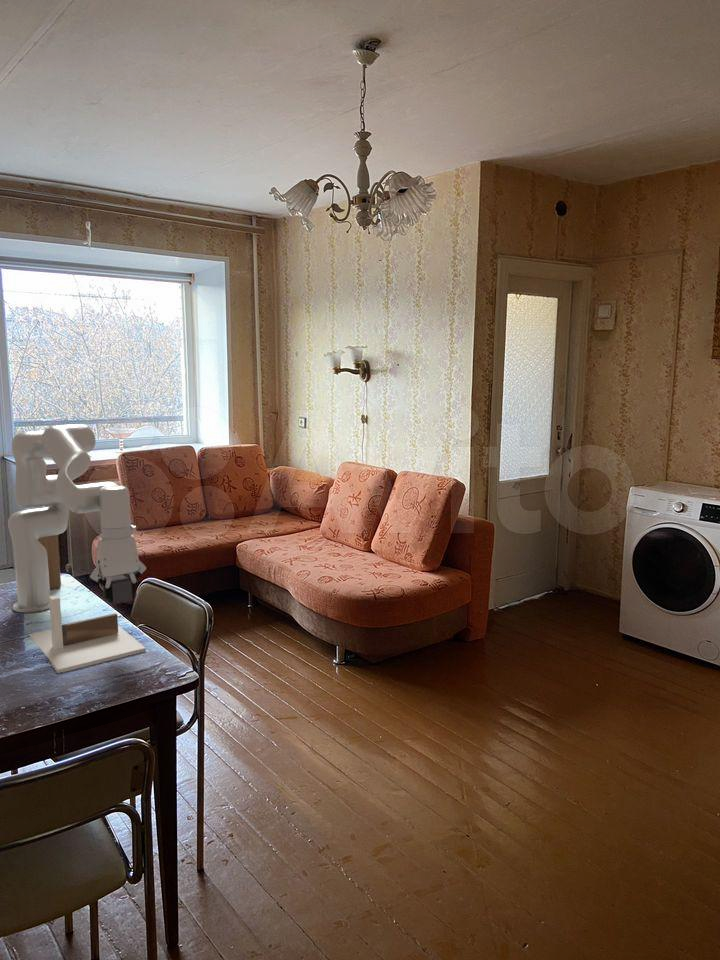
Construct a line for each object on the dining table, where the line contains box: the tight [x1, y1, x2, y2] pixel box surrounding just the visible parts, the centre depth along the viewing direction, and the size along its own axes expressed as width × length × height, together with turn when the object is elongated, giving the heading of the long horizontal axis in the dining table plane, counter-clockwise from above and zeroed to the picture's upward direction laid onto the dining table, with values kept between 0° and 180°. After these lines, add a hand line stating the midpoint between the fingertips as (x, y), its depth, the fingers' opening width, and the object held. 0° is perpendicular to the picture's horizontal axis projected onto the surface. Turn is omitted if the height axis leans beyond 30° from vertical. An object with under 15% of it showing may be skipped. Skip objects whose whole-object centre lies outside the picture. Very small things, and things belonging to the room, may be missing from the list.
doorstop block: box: [102, 574, 133, 605], centre depth 189 cm, size 8×5×6 cm, turn 38°
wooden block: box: [38, 534, 62, 590], centre depth 243 cm, size 10×10×20 cm
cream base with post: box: [28, 595, 146, 674], centre depth 193 cm, size 30×22×15 cm
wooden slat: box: [62, 612, 119, 645], centre depth 194 cm, size 1×15×6 cm, turn 128°
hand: (120, 598), depth 187 cm, fingers closed on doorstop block, 5 cm apart
